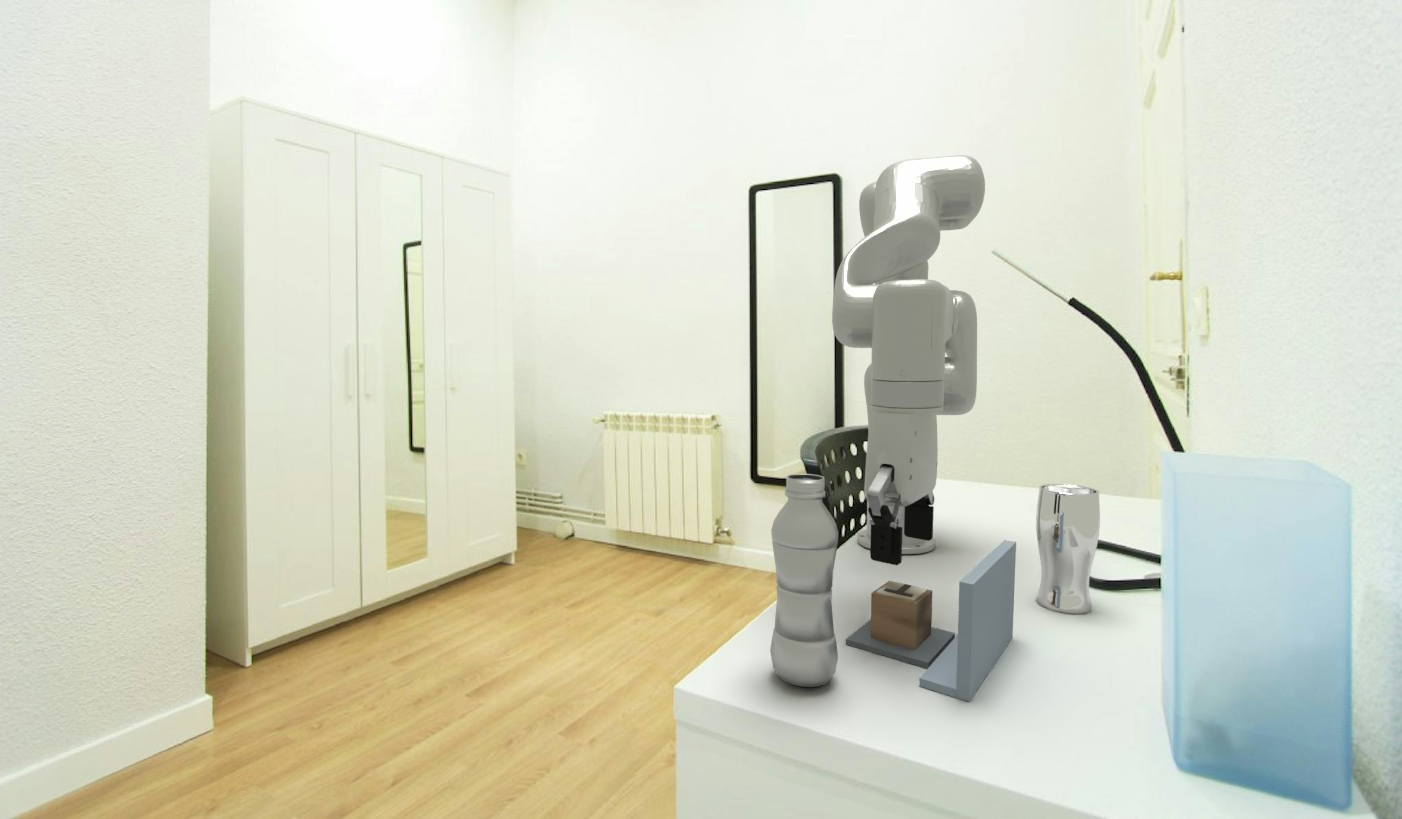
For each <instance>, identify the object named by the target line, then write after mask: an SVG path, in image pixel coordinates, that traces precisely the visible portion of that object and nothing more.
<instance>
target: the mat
mask: <svg viewBox="0 0 1402 819" xmlns="http://www.w3.org/2000/svg"><path fill="white" fill-rule="evenodd" d="M955 637H956V632H953V631H949V630H945V629H942V628H938V627H933V626H932V627H931V635H930V636H929V637H928V638H927V639H926V640H925V641H924V642H923V643H922V644H921V645H920V646H919V647H918V648H917V649H916V650H913V649H910V648H906V647H903V646H899V645H896V644H892V643H889V642H885V641H882V640H878V639H874V638H871V619H869V620H868V621H867V622H865V623H864V624H863V625H861V626H860V627H859V628H857V629H856V631H854V632H852V633H851V635H849V636H847V637H846V638H845V645H846V646H850V647H854V648H856V649H860V650H863V651H867V652H871V653H875V654H876V655H881V656H884V657H887V658H890V659H894V660H897V661H900V662H905V663H908V664H911V665H915V666H918V667H922V668H925V669H928V668H929V667H930V666H931V664H932V663H933V662H934V661H935V660H936V659H937V658H938V656H939V655H940V654H941V653H942V652H943V651H944V650H945V649H946V647H947V646H948V645H949V644H950V643H951V642H952V641H953V639H954V638H955Z"/></svg>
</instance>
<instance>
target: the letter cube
mask: <svg viewBox="0 0 1402 819" xmlns="http://www.w3.org/2000/svg"><path fill="white" fill-rule="evenodd" d="M870 595H871V598H870V620H871V638H874V639H878V640H882V641H885V642H889V643H892V644H896V645H899V646H903V647H906V648H910V649H913V650H916V649H917V648H918V647H919V646H920V645H921V644H922V643H923V642H924V641H925V640H926V639H927V638H928V637H929V636H930V635H931V627H933V626H932V623H933V620H932V619H933V618H932V617H933V590H931V589H928V588H925V587H921V586H915V585H911V584H907V583H902V582H898V581H894V580H887V582H885V583H884V584H882V585H881V586H880V587H878V588H876V589H875V590H874V591H873V592H871V594H870Z"/></svg>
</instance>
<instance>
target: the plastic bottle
mask: <svg viewBox="0 0 1402 819" xmlns="http://www.w3.org/2000/svg"><path fill="white" fill-rule="evenodd" d="M785 480H786V482H785V484H786V485H785V488H786V489H785V490H784V491H785V492H784V495H785V496H786V497H787V501H786V502H785V504H784V505H783V506H782V508H781V509H780V510H779V512H778V513H777V514H776V516H775V518H774V520H773V523H772V525H771V530H770V532H771V541H772V551H773V556H774V563H775V564H774V565H775V579H776V580H775V581H776V608H775V616H774V617H775V619H774V628H773V631H772V636H771V642H770V651H769V652H770V657H771V663H772V668H773V670H775V673H776V674H777V675H778V677H779V678H780V679H781V680H783V681H784V682H786V683H787V684H791V685H794V686H797V687H798V686H799V687H804V688H813V687H821V686H823V685H825V684H827V683H829V682H830V680H832V678H833V677H834V675H835V674H836V671H837V670H836V669H837V666H838V660H839V656H838V655H839V652H838V646H837V639H836V634H835V631H834V618H833V615H834V614H833V602H832V600H833V589H832V588H833V581H834V568H835V561H836V556H837V549H838V542H839V531H838V527H837V523H836V522H835V519H834V517H833V516H832V514H831V512H830V511H829V510H828V508H827V507H826V506H825V504H824V503H823V499H824V498H826V490H825V484H826V483H825V481H826V480H825V476H823V475H819V474H813V473H794V474H793V473H791V474H788V475H787V476H786V479H785Z"/></svg>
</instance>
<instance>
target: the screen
mask: <svg viewBox="0 0 1402 819" xmlns="http://www.w3.org/2000/svg"><path fill="white" fill-rule="evenodd" d="M1016 552H1017V542H1016V541H1013V540H1003V541H1002V542H1001V543H999V545H997V546H996V547H995V548H994V549H993V550H992V551H991V552H990V553H988V555H987V556H986V557H984V558H983V559H982V560H981V561H980V562H979V563H978V564H977V565H976V566H975V567H974V568H972V570H970V571H969V572H968V573H967V574H966V575H965V576H964V577H962V579H961V580H960V581H959V587H958V588H959V589H958V590H959V591H958V618H957V619H958V620H957V621H958V622H957V635H955V638H954V639H953V641H952V642H951V643H950V644H949V645H948V646H947V647H946V649H945V650H944V651H943V652H942V653H941V654H940V655H939V656H938V658H937V659H936V660H935V661H934V662H933V663H932V664H931V666H930V667H929V668H926V670H925V671H924V672H923V674H921V676H920V677H919V683H918V685H919V687H921V688H924V689H927V690H931V691H933V692H937V693H939V694H944V695H947V696H950V697H952V698H956V699H959V700H963V701H966V702H968V703H969V702H971V700H972V699H973V697H974V696H975V695H976V693H977V692H978V690H979V688H980V687H981V686H982V684H983V683H984V681H985V680H986V678H987V676H988V675H989V674H990V673H991V671H992V669H993V668H994V667H995V665H996V664H997V662H998V660H999V659H1000V658H1001V656H1002V654H1003V653H1004V651H1005V650H1006V649H1007V647H1008V646H1009V644H1010V642H1011V641H1012V640H1013V638H1014V634H1013V633H1014V611H1015V610H1014V605H1015V584H1016V581H1015V580H1016V559H1017V558H1016V555H1017V553H1016Z"/></svg>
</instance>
